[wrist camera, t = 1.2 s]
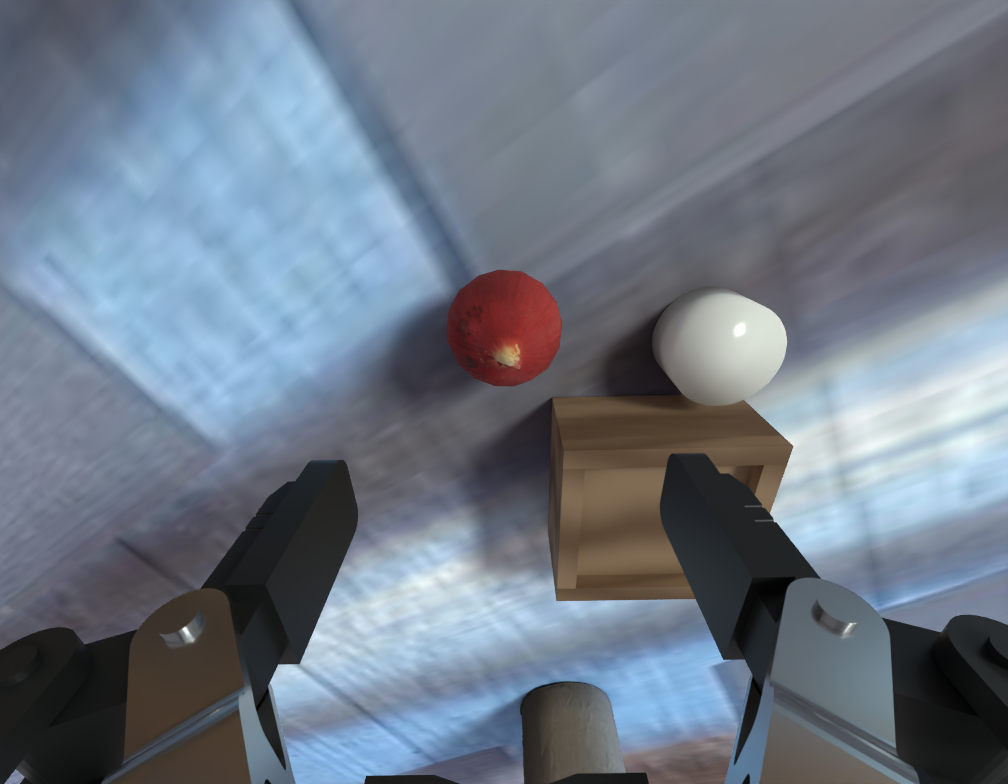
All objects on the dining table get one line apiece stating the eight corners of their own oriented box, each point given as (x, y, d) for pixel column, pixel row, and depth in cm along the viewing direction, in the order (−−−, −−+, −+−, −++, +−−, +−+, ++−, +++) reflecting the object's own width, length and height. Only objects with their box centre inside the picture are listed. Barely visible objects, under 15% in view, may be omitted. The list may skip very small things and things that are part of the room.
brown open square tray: (552, 397, 27) (563, 450, 22) (736, 393, 27) (793, 446, 22) (548, 532, 33) (556, 601, 27) (701, 529, 33) (739, 598, 27)
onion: (474, 365, 26) (463, 435, 19) (440, 277, 24) (412, 320, 17) (564, 338, 25) (587, 400, 18) (537, 244, 23) (552, 273, 16)
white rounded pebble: (658, 287, 24) (681, 303, 21) (763, 284, 24) (801, 300, 21) (645, 380, 27) (663, 407, 24) (738, 378, 27) (769, 404, 24)
